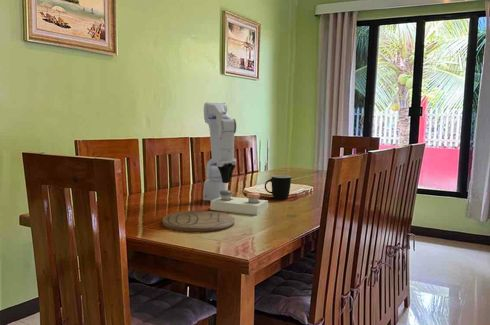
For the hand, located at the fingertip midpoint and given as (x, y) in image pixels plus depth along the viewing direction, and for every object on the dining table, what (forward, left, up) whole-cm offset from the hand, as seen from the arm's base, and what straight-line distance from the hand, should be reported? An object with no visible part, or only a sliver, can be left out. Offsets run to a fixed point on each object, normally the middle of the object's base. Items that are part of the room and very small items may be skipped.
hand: (226, 182), depth 179 cm
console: (+6, 0, -10) cm, 12 cm away
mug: (+12, +31, -11) cm, 35 cm away
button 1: (0, 0, -7) cm, 7 cm away
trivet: (+2, -27, -11) cm, 29 cm away
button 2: (+12, 0, -7) cm, 14 cm away
